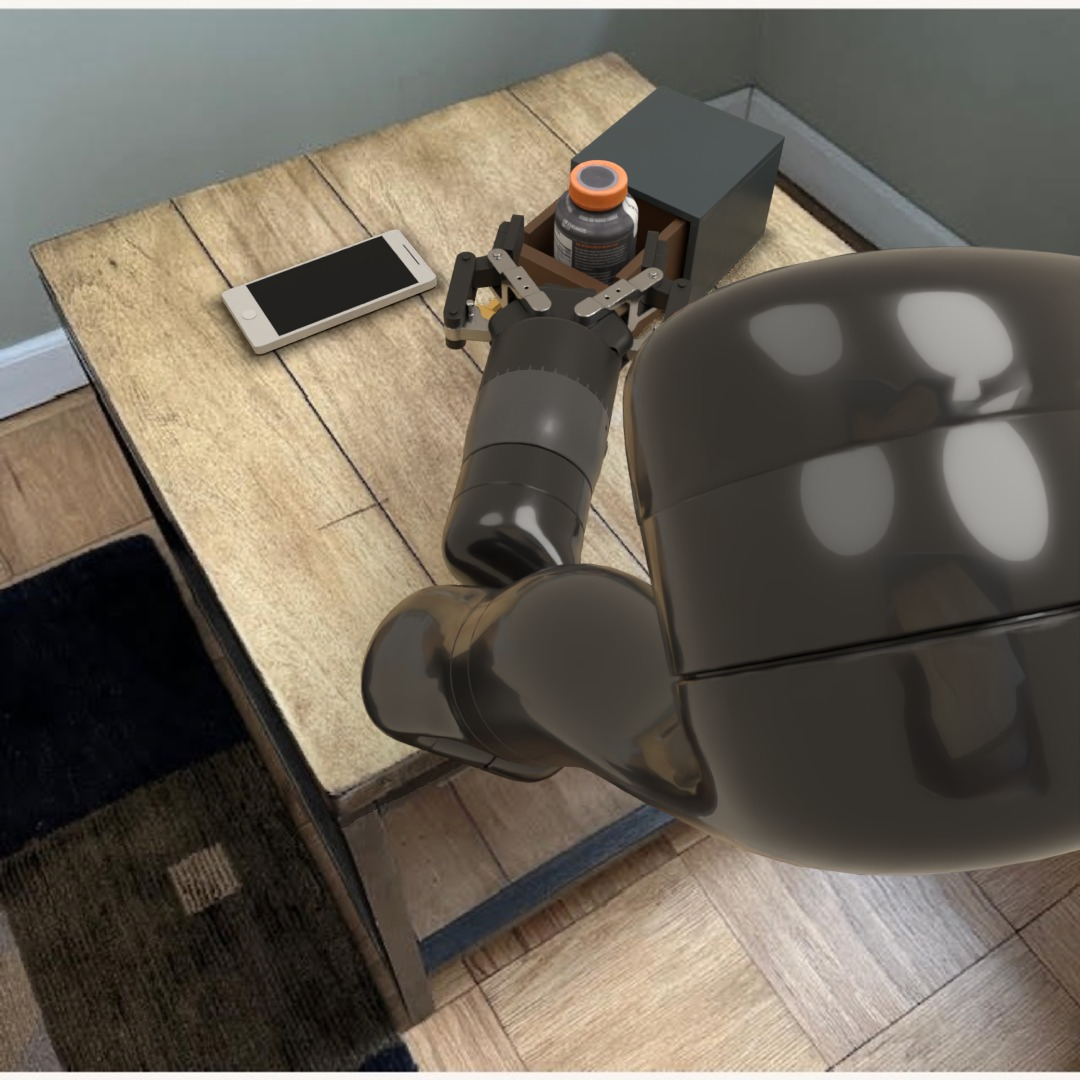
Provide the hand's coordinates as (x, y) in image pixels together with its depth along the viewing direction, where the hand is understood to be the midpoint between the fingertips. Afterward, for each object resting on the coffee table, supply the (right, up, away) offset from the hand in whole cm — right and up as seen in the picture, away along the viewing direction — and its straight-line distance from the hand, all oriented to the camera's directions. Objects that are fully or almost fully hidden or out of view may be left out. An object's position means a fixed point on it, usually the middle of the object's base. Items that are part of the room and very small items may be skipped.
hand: (584, 233), depth 69 cm
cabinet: (+8, +5, +21) cm, 23 cm away
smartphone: (-19, 0, +18) cm, 26 cm away
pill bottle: (+1, -1, +15) cm, 15 cm away
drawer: (0, -3, +15) cm, 15 cm away
